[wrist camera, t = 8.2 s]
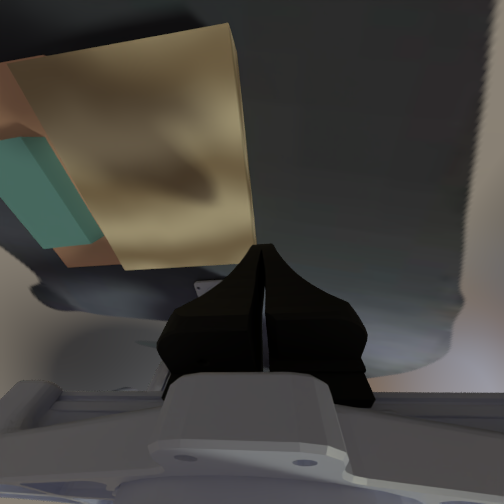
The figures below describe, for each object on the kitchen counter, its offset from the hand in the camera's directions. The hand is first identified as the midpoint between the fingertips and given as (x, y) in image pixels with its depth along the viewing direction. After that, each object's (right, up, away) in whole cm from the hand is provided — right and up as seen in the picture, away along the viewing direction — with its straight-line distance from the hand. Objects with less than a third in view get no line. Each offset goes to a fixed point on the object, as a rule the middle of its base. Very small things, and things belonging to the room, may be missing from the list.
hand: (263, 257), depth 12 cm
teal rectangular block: (-22, +5, +6) cm, 23 cm away
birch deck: (-8, +8, +7) cm, 13 cm away
